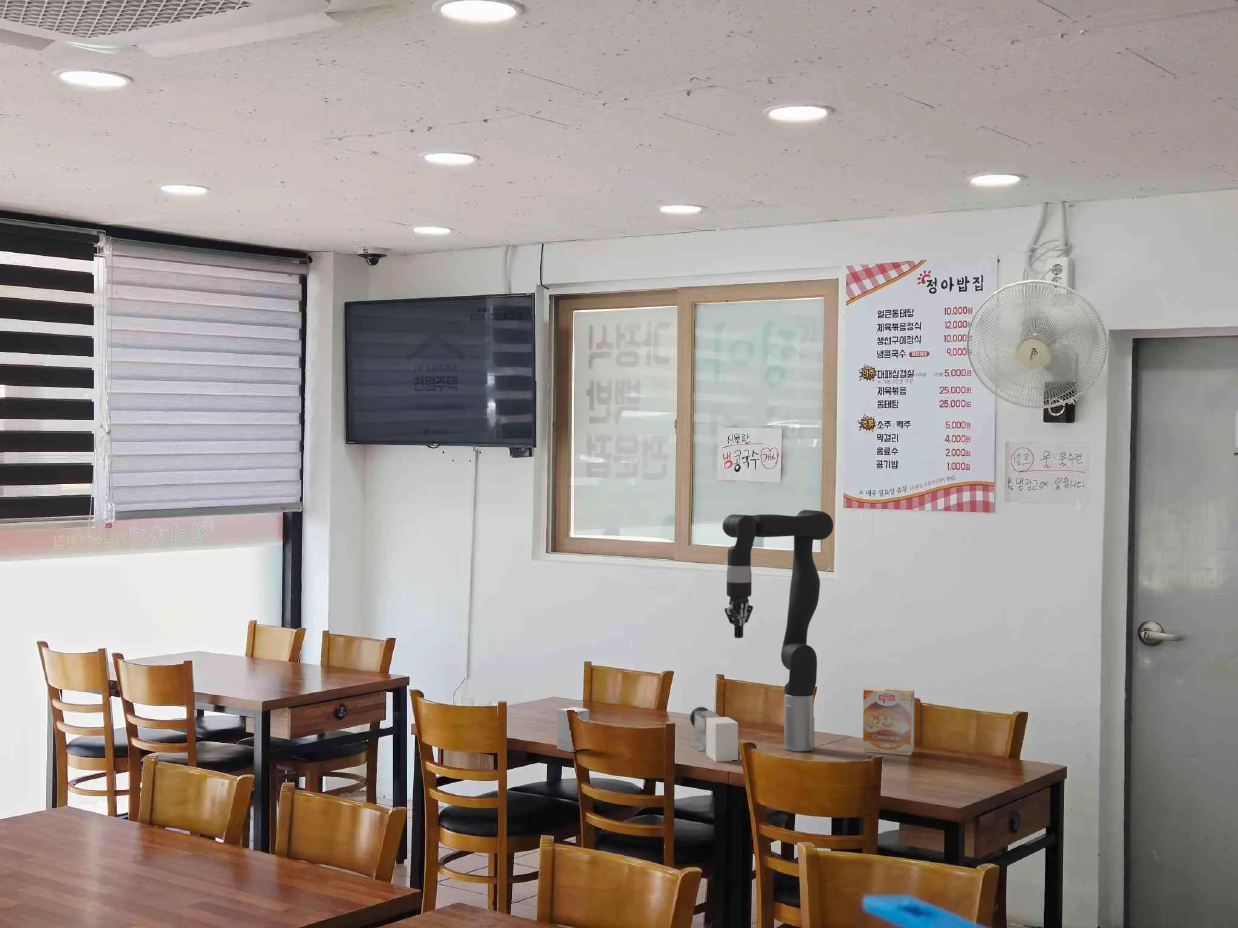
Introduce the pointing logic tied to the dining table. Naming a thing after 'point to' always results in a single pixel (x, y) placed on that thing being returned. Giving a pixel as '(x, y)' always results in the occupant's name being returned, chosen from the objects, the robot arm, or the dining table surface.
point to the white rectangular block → (721, 739)
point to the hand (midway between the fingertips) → (738, 637)
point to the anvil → (701, 729)
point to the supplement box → (567, 727)
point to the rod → (692, 716)
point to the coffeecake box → (888, 720)
